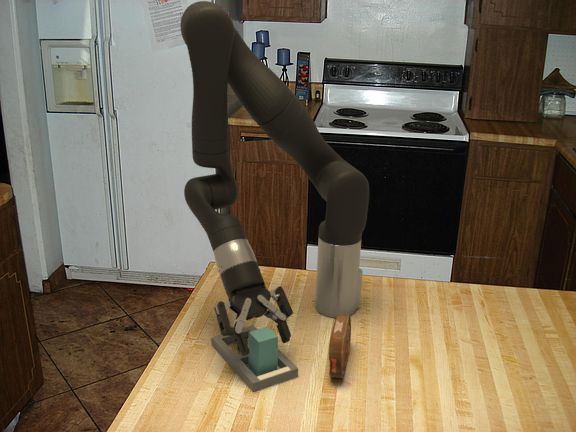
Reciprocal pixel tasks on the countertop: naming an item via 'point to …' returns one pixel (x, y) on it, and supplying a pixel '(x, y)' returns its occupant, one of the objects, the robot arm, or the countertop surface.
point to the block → (262, 351)
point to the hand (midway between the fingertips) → (267, 348)
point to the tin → (340, 346)
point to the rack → (241, 361)
